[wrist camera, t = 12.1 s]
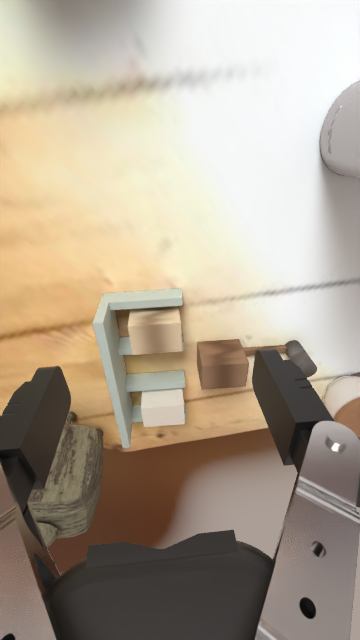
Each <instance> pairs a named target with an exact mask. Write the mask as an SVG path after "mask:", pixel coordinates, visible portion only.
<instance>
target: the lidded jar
mask: <svg viewBox="0 0 360 640" xmlns="http://www.w3.org/2000/svg"><path fill="white" fill-rule="evenodd" d="M324 404H325V407H326V408H327V410H328V411H329V413H330V414H331V416H332V418H333V419H334V420H335V422H337V423H340V424H342V425H344V426H346V427H348V428H349V429H350V430H352V431H353V432H354V433H355V434H356V436H357V437H359V438H360V377H355V376H350V375H346V376H341V377H339V378H336V379H335V380H333V381H332V382H331V383H330V384H329V385H328V387H327V390H326V394H325V399H324Z"/></svg>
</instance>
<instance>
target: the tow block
mask: <svg viewBox="0 0 360 640" xmlns="http://www.w3.org/2000/svg"><path fill="white" fill-rule="evenodd" d="M264 349H276V350H277V351H278V353H286V354H287V356H288V357H289V359H290V360H291V361H292V362H293V363H294V364H296V365H297V366H298V367H300V368H301V370H302V371H303V373H304V374H305V376H306V377H310V376H312V375H313V374H314V373H315V372H316V371H317V367H316V365H315V364H314V363H313V361H312V360H311V358H310V357H309V356H308V354H307V353H306V351H305V350H304V349H303V347H302V346H301V344H300V343H299V342H298V341H295V340H293V341H289V342H288V343H286V345H279V346H264V347H249V348H242V345H241V343H240V341H239V339H235V340H220V341H204V342H197V366H198V372H199V377H200V383H201V388H202V389H215V388H229V387H243V386H246V381H247V374H248V367H249V362H248V360H247V357H246V355H255V353H256V351H257V350H264Z"/></svg>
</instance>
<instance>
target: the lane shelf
mask: <svg viewBox="0 0 360 640" xmlns="http://www.w3.org/2000/svg"><path fill="white" fill-rule="evenodd" d="M182 305H183V299H182V292H181V288H176V289H161V290H145V291H129V292H113V293H103V295H102V298H101V301H100V304H99V307H98V310H97V313H96V315H95V318H94V321H93V327H94V331H95V335H96V339H97V343H98V347H99V351H100V355H101V360H102V364H103V368H104V372H105V376H106V380H107V384H108V388H109V393H110V397H111V401H112V405H113V409H114V413H115V417H116V422H117V426H118V430H119V434H120V438H121V442H122V446H123V448H130V443H131V431H132V423H134V422H143V418H142V412H141V405H132V400H131V394H130V392H134V391H146V390H159V389H172V388H184V387H185V376H184V370H178V371H165V372H151V373H138V374H127V373H126V367H125V362H124V356H123V355H130V354H132V349H131V343H130V337H120V335H119V329H118V324H117V319H116V313H115V310H122V309H137V308H152V307H167V306H182ZM181 336H182V351H184V341H183V334H182V333H181ZM184 417H185V418H186V407H185V401H184Z"/></svg>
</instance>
